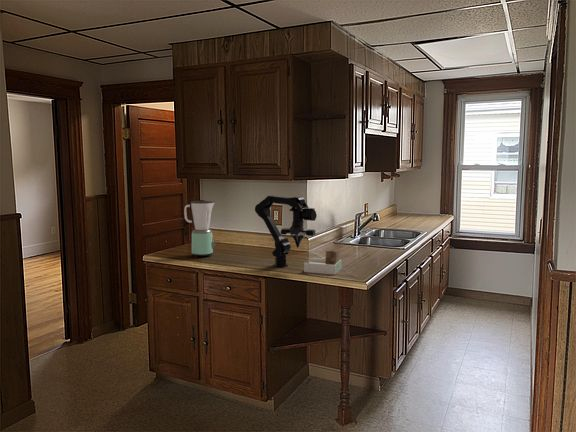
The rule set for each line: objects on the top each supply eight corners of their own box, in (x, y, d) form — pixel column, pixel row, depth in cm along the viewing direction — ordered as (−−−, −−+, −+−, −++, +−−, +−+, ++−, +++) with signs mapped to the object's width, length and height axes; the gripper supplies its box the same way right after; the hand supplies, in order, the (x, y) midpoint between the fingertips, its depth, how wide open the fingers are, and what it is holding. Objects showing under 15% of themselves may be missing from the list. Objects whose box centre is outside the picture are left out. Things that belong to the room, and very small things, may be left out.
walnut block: (325, 265, 265) (325, 250, 264) (328, 263, 271) (328, 249, 270) (336, 266, 263) (336, 251, 262) (338, 263, 269) (338, 249, 268)
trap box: (304, 271, 262) (304, 262, 262) (311, 266, 276) (311, 257, 276) (335, 274, 257) (335, 265, 256) (341, 268, 271) (341, 259, 270)
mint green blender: (215, 253, 312) (214, 199, 308) (216, 257, 299) (215, 201, 295) (185, 254, 309) (184, 199, 305) (185, 258, 296) (183, 201, 292)
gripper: (277, 220, 263) (277, 248, 264) (310, 222, 257) (310, 251, 259) (283, 218, 273) (283, 245, 275) (315, 219, 267) (315, 247, 269)
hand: (297, 247), depth 269 cm, fingers closed
